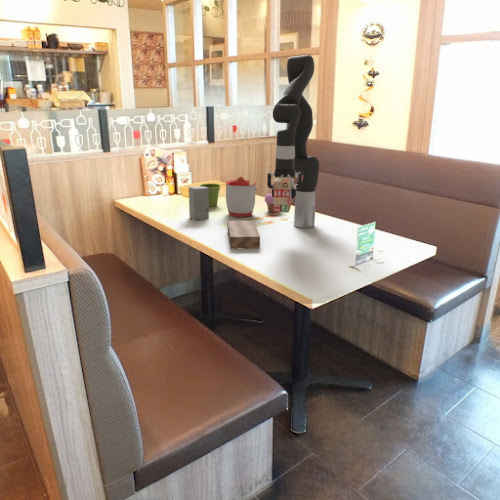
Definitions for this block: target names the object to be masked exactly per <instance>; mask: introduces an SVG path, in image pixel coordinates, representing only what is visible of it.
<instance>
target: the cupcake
mask: <svg viewBox="0 0 500 500" xmlns="http://www.w3.org/2000/svg"><path fill="white" fill-rule="evenodd" d="M273 200H274V198H273V197H272V192H270V193H267V194H266V195H265V197H264V202H265V203H266V206H267V211H268V212H269V213H274V212H273Z"/></svg>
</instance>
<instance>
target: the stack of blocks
mask: <svg viewBox="0 0 500 500" xmlns="http://www.w3.org/2000/svg"><path fill="white" fill-rule="evenodd" d="M292 180H293V182H294V181H295V180H294V178H292V177H277V178H276V177H275V179H274V180H273V184H274V195H273V196H274V200H273V212H272V213H290V211H291V208H292V204H293V201H294V198H292V188H293V187H292V185H291V184H292ZM294 183H295V182H294Z"/></svg>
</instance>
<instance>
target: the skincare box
mask: <svg viewBox="0 0 500 500" xmlns="http://www.w3.org/2000/svg"><path fill="white" fill-rule="evenodd" d="M188 205H189V206H188V208H189V214H188V215H189V218H190V219H191V220H193V221H201V220H206V219H207V220H208V219H210V209H209V188H207V187H204V186H200V185H199V186H189V187H188Z"/></svg>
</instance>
